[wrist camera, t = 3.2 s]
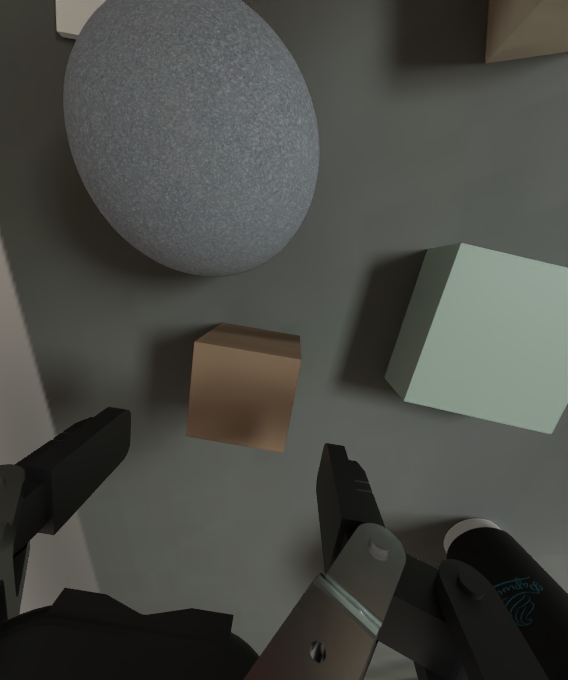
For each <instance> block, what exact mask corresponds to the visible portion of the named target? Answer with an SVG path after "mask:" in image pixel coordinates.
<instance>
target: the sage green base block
mask: <svg viewBox="0 0 568 680" xmlns="http://www.w3.org/2000/svg"><path fill="white" fill-rule="evenodd" d="M384 378H385V379H386V381H387V382H388V383H389V384H390V385H391V387H392V388H393V389H394V390H395V391H396V392H397V394H398V395H399V396H400V397H401V398H402V400H403V401H406V402H410V403H415V404H419V405H423V406H428V407H432V408H437V409H441V410H446V411H450V412H454V413H459V414H463V415H468V416H472V417H477V418H481V419H485V420H490V421H494V422H499V423H503V424H508V425H512V426H516V427H521V428H525V429H530V430H534V431H538V432H543V433H547V434H552V432H553V430H554V428H555V426H556V425H557V423H558V421H559V419H560V417H561V415H562V413H563V411H564V409H565V407H566V406H567V404H568V268H566V267H562V266H557V265H553V264H549V263H545V262H540V261H536V260H532V259H528V258H523V257H519V256H515V255H511V254H506V253H502V252H498V251H494V250H489V249H485V248H481V247H477V246H472V245H468V244H464V243H458V244H453V245H447V246H441V247H436V248H430V249H427V252H426V255H425V258H424V261H423V264H422V267H421V270H420V273H419V276H418V279H417V282H416V285H415V288H414V290H413V293H412V296H411V299H410V302H409V305H408V308H407V311H406V314H405V317H404V320H403V323H402V326H401V329H400V332H399V335H398V338H397V341H396V344H395V347H394V350H393V353H392V356H391V359H390V362H389V365H388V368H387V371H386V374H385V377H384Z"/></svg>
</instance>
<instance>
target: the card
mask: <svg viewBox="0 0 568 680" xmlns="http://www.w3.org/2000/svg"><path fill="white" fill-rule="evenodd" d="M105 1H106V0H56V26H57V32H58V33H59V34H60V35H61V36H62V37H65V38H70V39H76V40H77V37H78V35H79V33H80V31H81V30H82V28H83V26H84V25H85V23H86V22H87V21H88V19H89V18H90V17H91V15H92V14H93V13H94V12H95V11H96V10H97V9H98V8H99V7H100V6H101V5H102V4H103V3H104V2H105Z"/></svg>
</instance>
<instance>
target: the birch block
mask: <svg viewBox="0 0 568 680" xmlns="http://www.w3.org/2000/svg"><path fill="white" fill-rule="evenodd" d="M564 52H568V0H489V9H488V25H487V41H486V57H485V64H486V63H493V62H500V61H507V60H514V59H521V58H529V57H536V56H543V55H550V54H557V53H564Z"/></svg>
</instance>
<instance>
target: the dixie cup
mask: <svg viewBox="0 0 568 680" xmlns="http://www.w3.org/2000/svg"><path fill="white" fill-rule="evenodd" d="M444 549H445V552H446V554H447V559H455V560H459V561H462V562H464V563H466V564H468V565H470V566H471V567H473V568H474V569H476V570H477V571H478V572H480V573H481V574H482V575H483V576H484V577H485V578H486V579H487V580H488V581H489V582H490V583H491V584H492V586H493V587H494V588H495V590H496V591H497V593H498V594H499V596H500V598H501V599H502V601H503V603H504V604H505V606H506V608H507V610H508V611H509V613H510V615H511V616H512V618H513V620H514V621H515V623H516V625H517V626H518V628H519V630H520V631H521V633H522V635H523V636H524V638H525V640H526V642H527V643H528V645H529V647H530V648H531V650H532V652H533V653H534V655H535V657H536V658H537V660H538V662H539V663H540V665H541V667H542V668H543V670H544V672H545V674H546V675H547V677H548V679H549V680H568V594H567V593H566V592H565V591H564V590H563V589H562V588H561V587H560V586H559V585H558V584H557V582H556V581H555V580H554V579H553V578H552V577H551V576H550V575H549V574H548V573H547V572H546V571H545V570H544V569H543V568H542V567H541V566H540V565H539V564H538V563H537V562H536V561H535V560H534V559H533V558H532V557H531V556H530V555H529V554H528V553H527V552H526V551H525V550H524V549H523V548H522V547H521V546H520V545H519V544H518V543H517V542H516V541H515V539H514V538H513V537H512V536H510V535H509V534H508V533H506V532H505V531H503V530H501V529H500V528H499V527H498V526H497V525H496V524H495V523H493V522H491V521H489V520H486V519H481V518H472V519H467V520H463V521H461V522H459V523H457V524H455V525H454V526H453V527H451V528H450V529H449V531H448V532H447V533H446V535H445V538H444Z"/></svg>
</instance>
